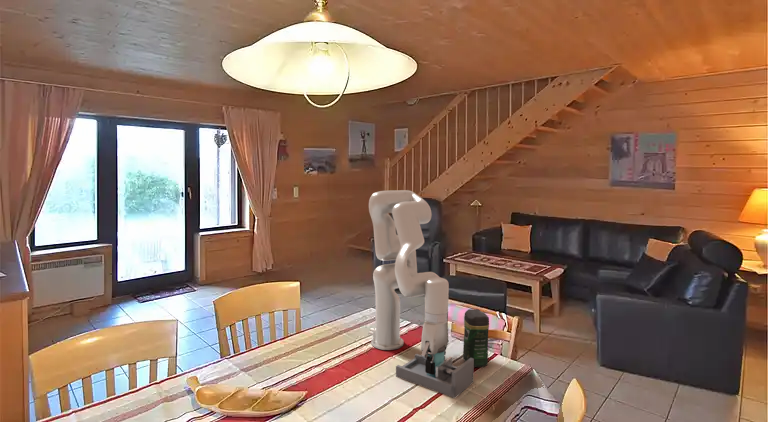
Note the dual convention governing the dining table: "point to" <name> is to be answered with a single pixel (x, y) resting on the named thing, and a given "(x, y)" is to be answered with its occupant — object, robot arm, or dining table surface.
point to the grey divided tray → (449, 386)
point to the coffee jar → (476, 337)
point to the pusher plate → (444, 369)
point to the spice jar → (437, 359)
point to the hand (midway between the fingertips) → (435, 369)
